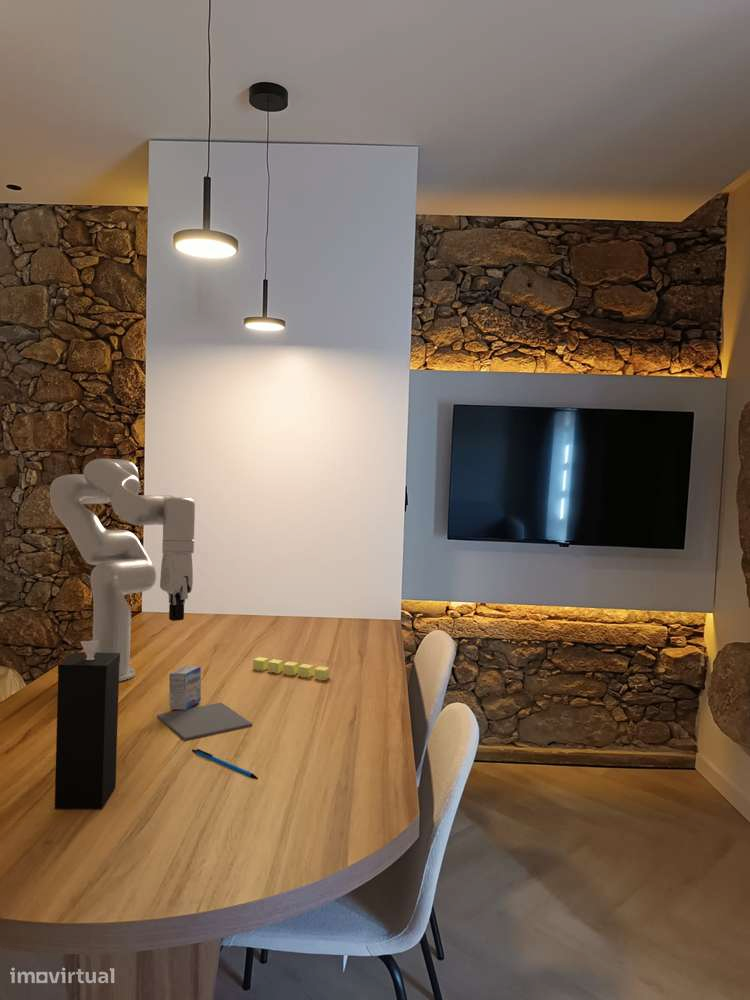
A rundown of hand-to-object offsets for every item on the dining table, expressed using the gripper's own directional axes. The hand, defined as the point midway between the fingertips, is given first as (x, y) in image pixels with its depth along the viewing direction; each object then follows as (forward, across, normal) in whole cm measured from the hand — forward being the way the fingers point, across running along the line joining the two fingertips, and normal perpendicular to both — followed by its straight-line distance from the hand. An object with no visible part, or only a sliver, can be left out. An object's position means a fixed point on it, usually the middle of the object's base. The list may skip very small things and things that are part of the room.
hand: (176, 619), depth 169 cm
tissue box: (+20, +41, -32) cm, 56 cm away
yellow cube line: (+21, -5, +37) cm, 42 cm away
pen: (+21, +41, -6) cm, 47 cm away
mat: (+20, +18, 0) cm, 27 cm away
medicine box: (+20, +7, 0) cm, 21 cm away
